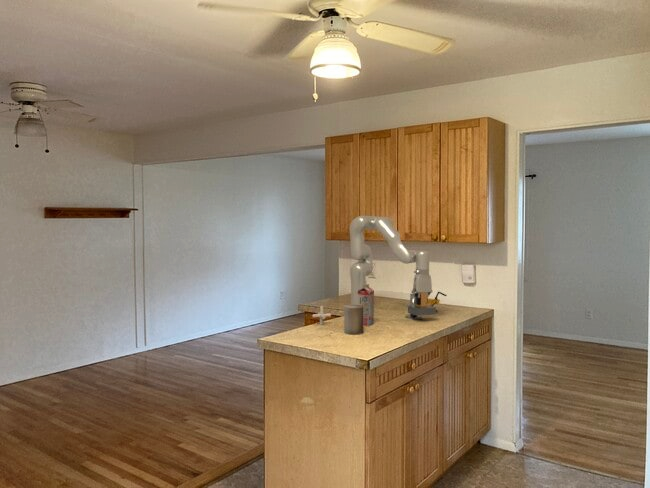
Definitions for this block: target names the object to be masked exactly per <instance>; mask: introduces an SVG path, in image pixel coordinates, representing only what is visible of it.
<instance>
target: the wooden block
mask: <svg viewBox="0 0 650 488" xmlns="http://www.w3.org/2000/svg"><path fill="white" fill-rule="evenodd" d="M420 298H421V301H420V305H418V304H417V307H427V305H428V303H427V292H426V293H420Z"/></svg>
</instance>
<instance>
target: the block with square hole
mask: <svg viewBox="0 0 650 488" xmlns="http://www.w3.org/2000/svg"><path fill="white" fill-rule="evenodd" d="M409 297H410V299H409V301H410V302H407V303H405V304H404V306H405V307H407V313H408V314H409V315H405V318H407V319H410V320H421V319H423V316H431V315H437V314H436V313H437V312H436V310H437V309H436V307H435V306H433V307H432V306H429V305H430V304H429V305H428V304H427V307H417V304H416V297H415V295H414V294H412V293H410V295H409Z"/></svg>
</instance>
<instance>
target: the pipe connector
mask: <svg viewBox="0 0 650 488" xmlns="http://www.w3.org/2000/svg"><path fill="white" fill-rule="evenodd" d="M311 316H312V318H313V319H314V318H319V325H320V326H324V319H326V318H329V317H330V318H331V317H332V314H331V313H324V306H323V305H320V306H319V311H318V312H317V313H315V314H312V315H311Z"/></svg>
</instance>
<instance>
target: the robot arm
mask: <svg viewBox="0 0 650 488" xmlns="http://www.w3.org/2000/svg"><path fill="white" fill-rule="evenodd" d="M364 230H367V231H368V230H369V231H370V230H371V231H378V233H379V234H380V235H381V236H382V237H383V238H384V239H385V241H386V242H387V243H388V245H389V247H390V249H391V252H392V253H393V254H394V255H395V256H396V257H397V258H398V260H399V261H400V262H401V263H403V264H414V263H415V270H413V271H414V272H413V273H414V278H413V283H412V285H413V286H412V290H411V293H410V294H414V295H415V297H416V304H418V305H420V301H421V298H420V293H426V292H427V302H428V299H429V296H430V295H431V294H432V293H433V288H432V287H433V286H432V285H433V283H432V277H431V274H430V252H429V251H428V250H414V249H407V248H406V246H405V245H404V244H403V242H402V240H401V234H400V232H399V231H398V230H397V229H396V228H395V226H394V221H393V219H392V218H390V217H389V216H373V215H359V216H357V217H355V218H354V219H353V220H352V221H351V222H350V225H349V237H350V239H349V242H350V255H351V257H352V259H354V260H356V262H354V263H353V264H351V266H350V269H349V276H350V305H358V291H359V290H361V289H363V285H367V278H366V277H368V276H370V275H371V274H372V273H373V254H372V253H373V252H372V249H371V247H370V246H369V245H368V244H366V243H365V235H364V232H363V231H364ZM357 261H358V262H357ZM342 311H344V312H345V309H344V308H343V310H342Z"/></svg>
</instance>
